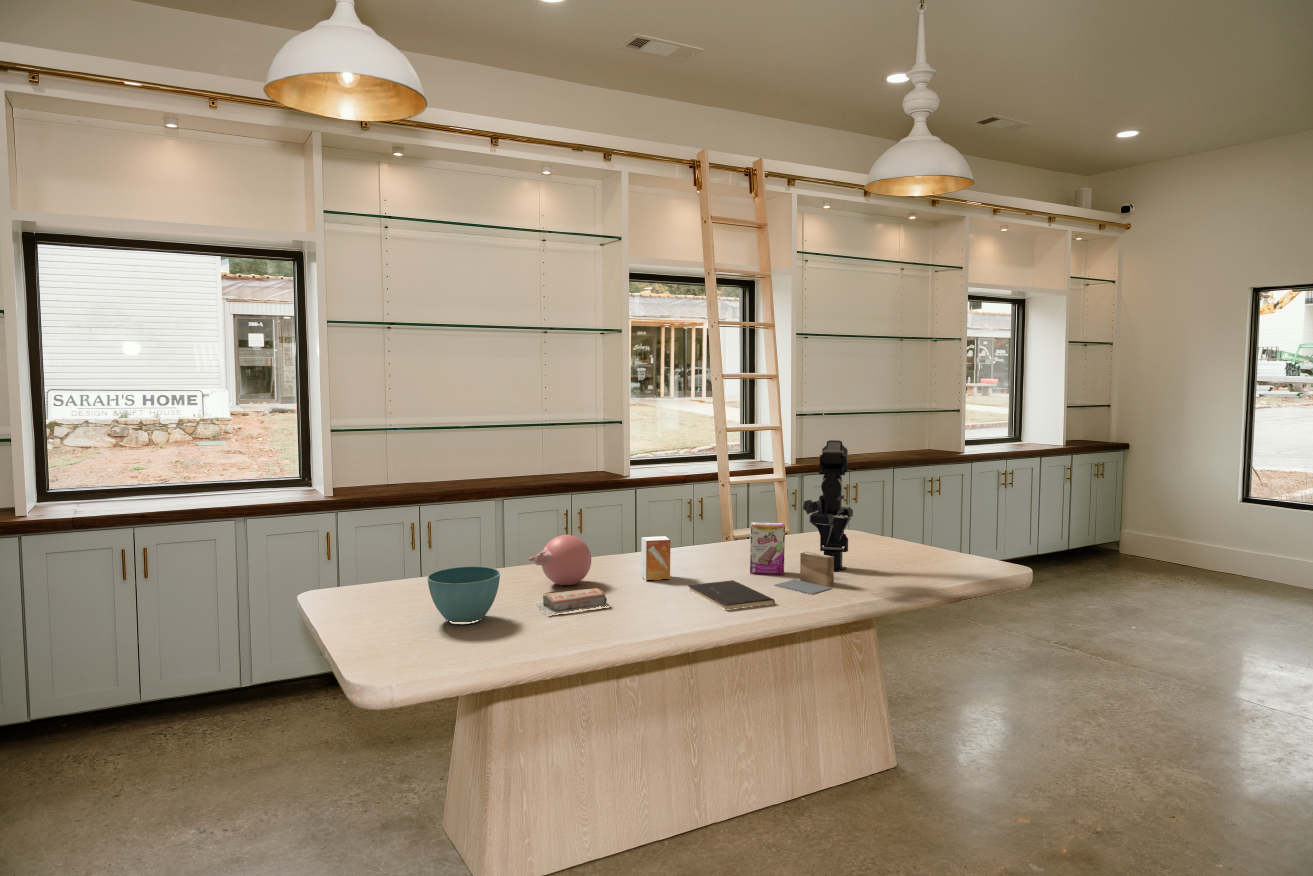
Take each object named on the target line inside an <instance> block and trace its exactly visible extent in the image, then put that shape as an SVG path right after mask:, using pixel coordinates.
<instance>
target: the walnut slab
mask: <svg viewBox="0 0 1313 876" xmlns="http://www.w3.org/2000/svg"><path fill="white" fill-rule="evenodd" d="M799 564H800V565H799V566H800V571H799V573H800V575H799V577H800V578H799V580H800V581H804V582H808V583H813V584H817V585H822V586H826V587H829V586H830V587H834V581H835V580H834V577H835V576H834V575H835V574H834V572H835V571H834V557H832V556H827V555H824V554H821V553H816V552H810V551H805V552H800V563H799Z"/></svg>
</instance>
